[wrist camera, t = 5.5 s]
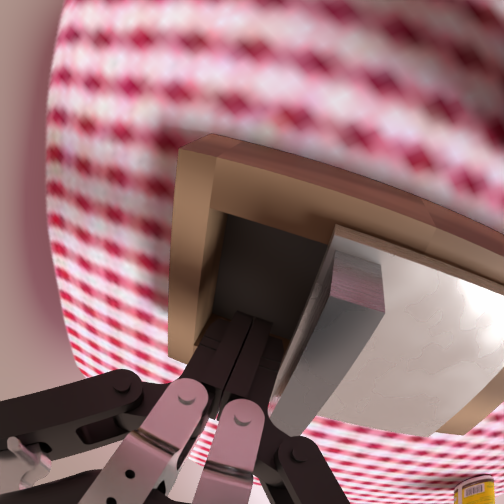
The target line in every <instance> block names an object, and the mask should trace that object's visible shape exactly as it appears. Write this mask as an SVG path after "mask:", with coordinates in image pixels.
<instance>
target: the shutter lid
mask: <svg viewBox="0 0 504 504" xmlns="http://www.w3.org/2000/svg"><path fill="white" fill-rule="evenodd" d="M503 367H504V286H502V285H500V284H497V283H495V282H492V281H490V280H487V279H485V278H482V277H480V276H478V275H475V274H473V273H470V272H467V271H465V270H462V269H460V268H457V267H455V266H452V265H450V264H447V263H444V262H442V261H439V260H436V259H434V258H431V257H428V256H426V255H423V254H420V253H418V252H415V251H412V250H409V249H407V248H404V247H401V246H398V245H396V244H393V243H390V242H387V241H384V240H381V239H378V238H376V237H373V236H370V235H367V234H364V233H361V232H358V231H355V230H352V229H349V228H346V227H343V226H340V225H337V224H336V225H335V227H334V230H333V233H332V236H331V239H330V241H329V244H328V247H327V249H326V252H325V255H324V258H323V260H322V263H321V266H320V268H319V271H318V273H317V276H316V279H315V281H314V284H313V286H312V289H311V291H310V294H309V297H308V299H307V302H306V304H305V307H304V309H303V311H302V314H301V316H300V319H299V321H298V324H297V326H296V329H295V331H294V333H293V336H292V338H291V340H290V343H289V345H288V347H287V350H286V352H285V354H284V357H283V359H282V361H281V364H280V368H279V371H278V375H277V378H276V381H275V385H274V388H273V391H272V394H271V398H270V401H269V402H270V403H269V406H268V415H269V418H270V420H271V422H272V423H273V424H274V425H275V426H276V427H277V428H278V429H280V430H281V431H283V432H284V433H286V434H287V435H289V436H290V437H293V436H300V435H301V434H302V432H303V431H304V430H305V429H306V427H307V426H308V425H309V424H310V422H311V421H312V420H313V419H314V417H315V416H316V415H318V416H322V417H326V418H330V419H334V420H338V421H342V422H347V423H351V424H356V425H360V426H365V427H370V428H375V429H380V430H385V431H391V432H397V433H403V434H409V435H416V436H423V437H429V436H430V435H431V434H433V433H434V432H435V431H436V430H438V429H439V428H440V427H441V426H443V425H444V424H445V423H446V422H447V421H448V420H450V419H451V418H452V417H453V416H454V415H455V414H457V413H458V412H459V411H460V410H461V409H462V408H463V407H464V406H465V405H466V404H468V403H469V402H470V401H471V400H472V399H473V398H474V397H475V396H476V395H477V394H478V393H479V392H480V391H481V390H482V389H483V388H484V387H485V386H486V385H487V384H488V383H489V382H490V381H491V380H492V379H493V378H494V377H495V376H496V375H497V374H498V373H499V371H500V370H501V369H502V368H503Z"/></svg>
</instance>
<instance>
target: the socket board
mask: <svg viewBox="0 0 504 504" xmlns="http://www.w3.org/2000/svg"><path fill="white" fill-rule="evenodd" d="M336 224H337V225H340V226H343V227H346V228H349V229H352V230H355V231H358V232H361V233H364V234H367V235H370V236H373V237H376V238H378V239H381V240H384V241H387V242H390V243H393V244H396V245H398V246H401V247H404V248H407V249H409V250H412V251H415V252H418V253H420V254H423V255H426V256H428V257H431V258H434V259H436V260H439V261H442V262H444V263H447V264H450V265H452V266H455V267H457V268H460V269H462V270H465V271H467V272H470V273H473V274H475V275H478V276H480V277H482V278H485V279H487V280H490V281H492V282H495V283H497V284H500V285H502V286H504V235H503V234H501V233H499V232H497V231H495V230H493V229H491V228H489V227H486V226H484V225H482V224H480V223H478V222H476V221H474V220H472V219H469V218H467V217H465V216H463V215H460V214H458V213H456V212H454V211H451V210H449V209H447V208H444V207H442V206H440V205H437V204H435V203H433V202H430V201H428V200H425V199H423V198H420V197H418V196H415V195H413V194H410V193H408V192H405V191H402V190H400V189H397V188H394V187H392V186H389V185H386V184H384V183H381V182H378V181H375V180H372V179H370V178H367V177H364V176H361V175H358V174H355V173H352V172H349V171H346V170H343V169H340V168H337V167H334V166H331V165H327V164H324V163H321V162H318V161H315V160H311V159H308V158H304V157H301V156H298V155H294V154H291V153H287V152H283V151H280V150H276V149H272V148H269V147H265V146H261V145H257V144H253V143H249V142H245V141H241V140H237V139H233V138H228V137H224V136H219V135H215V134H209V135H207V136H204V137H202V138H200V139H198V140H196V141H193V142H191V143H189V144H187V145H185V146H183V147H180V148H179V151H178V160H177V170H176V180H175V191H174V203H173V216H172V231H171V248H170V268H169V299H168V357H170V358H173V359H175V360H177V361H180V362H182V363H185V364H188V363H189V361H190V359H191V357H192V355H193V354H194V352H195V350H196V348H197V347H198V345H199V343H200V341H201V339H202V338H203V336H204V334H205V332H206V330H207V329H208V327H209V325H210V324H212V323H213V322H215V321H216V320H217V319H219V318H220V319H223V320H226V321H229V322H231V320H232V318H233V316H234V314H235V312H236V311H237V310H238V311H241V312H243V313H246V314H249V315H252V316H254V319H255V317H258V318H261V319H264V320H267V321H270V322H273V325H272V328H271V331H270V334H269V336H272V337H275V338H278V339H281V340H282V343H283V347H284V354H285V352H286V350H287V347H288V345H289V343H290V340H291V338H292V336H293V333H294V331H295V329H296V326H297V324H298V321H299V319H300V316H301V314H302V311H303V309H304V307H305V304H306V302H307V299H308V297H309V294H310V291H311V289H312V286H313V284H314V281H315V279H316V276H317V273H318V271H319V268H320V266H321V263H322V260H323V258H324V255H325V252H326V249H327V247H328V244H329V241H330V239H331V236H332V233H333V230H334V227H335V225H336ZM253 322H254V320H253ZM284 354H283V357H284ZM282 359H283V358H282ZM503 401H504V367H503V368H502V369H501V370H500V371H499V373H498V374H497V375H496V376H495V377H494V378H493V379H492V380H491V381H490V382H489V383H488V384H487V385H486V386H485V387H484V388H483V389H482V390H481V391H480V392H479V393H478V394H477V395H476V396H475V397H474V398H473V399H472V400H471V401H470V402H469V403H468V404H466V405H465V406H464V407H463V408H462V409H461V410H460V411H459V412H458V413H457V414H455V415H454V416H453V417H452V418H451V419H450V420H448V421H447V422H446V423H445V424H444V425H443V426H441V427H440V428H439V429H438V430H436V431H435V432H439V433H447V434H456V435H465V434H466V433H467V432H468V431H470V430H471V429H472V428H473V427H475V426H476V425H477V424H478V423H479V422H481V421H482V420H483V419H484V418H485V417H487V416H488V415H489V414H490V413H491V412H492V411H493V410H495V409H496V408H497V407H498V406H499V405H500V404H501V403H502V402H503Z"/></svg>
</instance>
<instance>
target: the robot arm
mask: <svg viewBox="0 0 504 504" xmlns="http://www.w3.org/2000/svg"><path fill="white" fill-rule="evenodd" d="M253 320H254V322H253ZM272 325H273V322H270V321H267V320H264V319H261V318H258V317H255V319H254V316H252V315H249V314H246V313H243V312H241V311H238V310H237V311H236V312H235V314H234V316H233V318H232V320H231V322H229V321H226V320H223V319H220V318H219V319H217V320H216V321H215V322H213V323H212V324H210V325H209V327H208V329H207V330H206V332H205V334H204V336H203V338H202V339H201V341H200V343H199V345H198V347H197V348H196V350H195V352H194V354H193V355H192V357H191V359H190V361H189V363H188V364H187V366H186V368H185V370H184V372H183V373H182V375H181V376H180V377H179V378H178V379H177V380H175V381H173V382H171V383H167V384H155V383H148V382H141V379H140V378H139V377H138V375H137V374H135V373H134V372H132V371H130V370H126V369H117V370H113V371H110V372H107V373H104V374H100V375H97V376H94V377H90V378H87V379H84V380H80V381H77V382H73V383H70V384H66V385H63V386H59V387H55V388H52V389H48V390H44V391H40V392H36V393H33V394H29V395H25V396H21V397H17V398H12V399H8V400H4V401H0V504H190V503H184V502H177V501H173V500H171V499H170V498H168V497H167V496H168V494H169V492H170V490H171V489H172V487H173V485H174V483H175V481H176V479H177V476H178V474H179V472H180V470H181V468H182V466H183V465H184V463H185V461H186V460H187V458H188V456H189V455H190V453H191V451H192V449H193V448H194V446H195V444H196V442H197V441H198V439H199V437H200V435H201V433H202V432H203V430H204V428H205V426H206V423H207V421H208V419H209V418H211V419H214V420H215V418H216V416H217V414H218V417H217V421H219V424H218V427H217V430H216V433H215V436H214V439H213V442H212V445H211V448H210V451H209V454H208V457H207V460H206V463H205V466H204V469H203V472H202V475H201V478H200V481H199V484H198V487H197V490H196V493H195V496H194V499H193V502H192V504H248V501H249V497H250V493H251V489H252V485H253V475H255V476H256V477H258V478H259V480H260V483H261V485H262V487H263V489H264V491H265V493H266V495H267V497H268V499H269V501H270V503H271V504H350V502H349V501H348V499H347V497H346V496H345V494H344V492H343V490H342V489H341V487H340V485H339V483H338V482H337V480H336V478H335V476H334V475H333V473H332V471H331V469H330V468H329V466H328V464H327V462H326V460H325V459H324V457H323V455H322V453H321V452H320V450H319V448H318V446H317V445H316V444H315V443H314V442H313V441H312V440H311V439H309V438H306V437H303V436H293V437H290V436H289V435H287V434H286V433H284V432H283V431H281V430H280V429H278V428H277V427H276V426H275V425H274V424H273V423H272V422H271V420H270V418H269V415H268V404H269V401H270V398H271V394H272V391H273V388H274V385H275V381H276V378H277V375H278V371H279V368H280V364H281V361H282V358H283V354H284V347H283V343H282V340H281V339H278V338H275V337H272V336H269V334H270V331H271V328H272ZM218 411H219V413H218ZM123 439H124V440H123ZM120 440H123V442H122V443H121V444H120V446H119V447H118V449H117V450H116V451H115V453H114V454H113V455H112V457H111V458H110V460H109V461H108V463H107V464H106V465H105V467H104V468H103V469H98V470H89V471H85V472H82V473H79V474H76V475H73V476H69V477H66V478H63V479H60V480H56V481H52V482H49V483H45V484H42V485H38V486H34V487H33V485H34V483H35V482H36V481H38V480H39V479H42V478H44V477H46V476H47V475H48V473H49V472H50V469H51V461H53V460H57V459H61V458H65V457H68V456H72V455H75V454H78V453H82V452H86V451H89V450H92V449H95V448H99V447H102V446H105V445H108V444H111V443H114V442H117V441H120Z"/></svg>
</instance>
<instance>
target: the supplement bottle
mask: <svg viewBox="0 0 504 504" xmlns="http://www.w3.org/2000/svg"><path fill="white" fill-rule="evenodd" d="M454 504H495V495H494V479H493V477H492V476H490V475H483V476H478V477H474V478H471V479H468V480H466V481H464V482H462V483H460V484H459V485H458V486H457V487H456V488H455V490H454Z"/></svg>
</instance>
